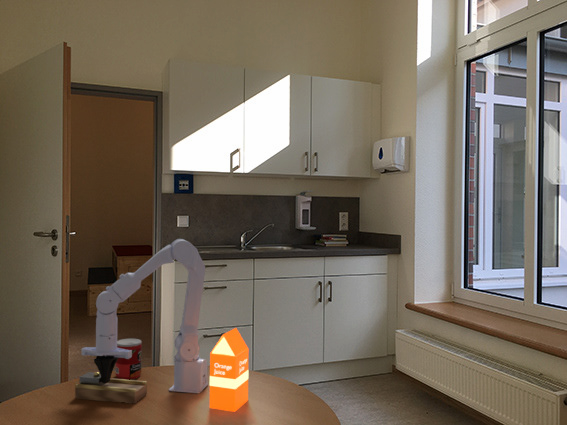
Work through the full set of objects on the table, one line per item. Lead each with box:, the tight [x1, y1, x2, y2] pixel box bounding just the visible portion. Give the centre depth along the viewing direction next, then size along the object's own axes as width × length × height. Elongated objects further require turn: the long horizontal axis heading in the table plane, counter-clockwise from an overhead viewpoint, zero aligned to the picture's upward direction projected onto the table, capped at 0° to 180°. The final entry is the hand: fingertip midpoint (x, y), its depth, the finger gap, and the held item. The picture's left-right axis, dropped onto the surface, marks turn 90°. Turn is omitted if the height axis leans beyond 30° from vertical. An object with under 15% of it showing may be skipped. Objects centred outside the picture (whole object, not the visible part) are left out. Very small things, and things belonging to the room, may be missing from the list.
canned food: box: [115, 338, 143, 380], centre depth 157 cm, size 8×8×11 cm
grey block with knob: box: [78, 371, 105, 386], centre depth 140 cm, size 6×4×3 cm
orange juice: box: [209, 327, 250, 413], centre depth 135 cm, size 8×9×20 cm
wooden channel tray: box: [74, 378, 148, 405], centre depth 139 cm, size 18×7×4 cm, turn 79°
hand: (106, 382), depth 139 cm, fingers closed
